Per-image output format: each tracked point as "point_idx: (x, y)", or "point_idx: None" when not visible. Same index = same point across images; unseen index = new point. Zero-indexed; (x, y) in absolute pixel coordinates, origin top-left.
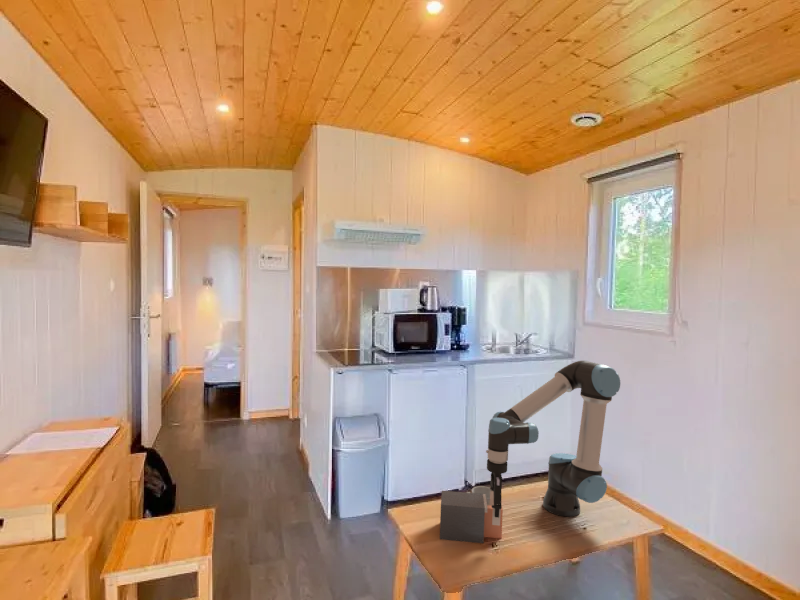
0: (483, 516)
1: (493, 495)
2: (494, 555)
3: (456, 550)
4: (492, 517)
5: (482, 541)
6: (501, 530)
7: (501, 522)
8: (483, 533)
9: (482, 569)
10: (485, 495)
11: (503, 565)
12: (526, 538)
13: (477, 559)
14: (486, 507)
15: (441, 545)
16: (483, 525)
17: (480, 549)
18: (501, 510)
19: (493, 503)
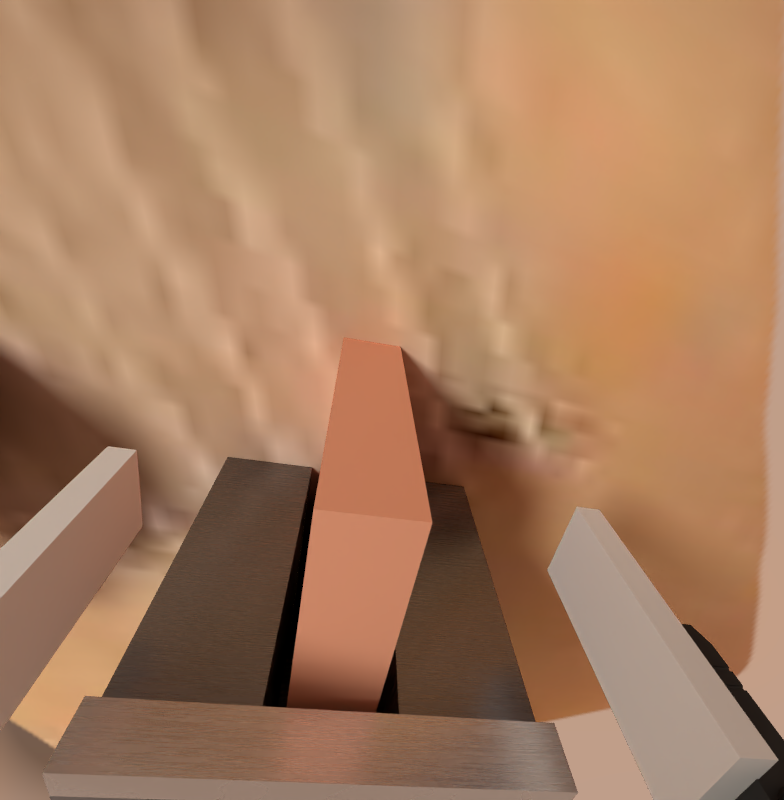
0: (521, 691)
1: (9, 660)
2: (614, 450)
3: (518, 619)
4: (583, 638)
5: (463, 500)
6: (405, 378)
7: (409, 418)
8: (479, 540)
9: (723, 536)
10: (102, 776)
11: (736, 422)
12: (407, 83)
13: (626, 544)
14: (542, 797)
15: None
16: (494, 598)
17: (530, 514)
18: (424, 524)
19: (103, 530)
